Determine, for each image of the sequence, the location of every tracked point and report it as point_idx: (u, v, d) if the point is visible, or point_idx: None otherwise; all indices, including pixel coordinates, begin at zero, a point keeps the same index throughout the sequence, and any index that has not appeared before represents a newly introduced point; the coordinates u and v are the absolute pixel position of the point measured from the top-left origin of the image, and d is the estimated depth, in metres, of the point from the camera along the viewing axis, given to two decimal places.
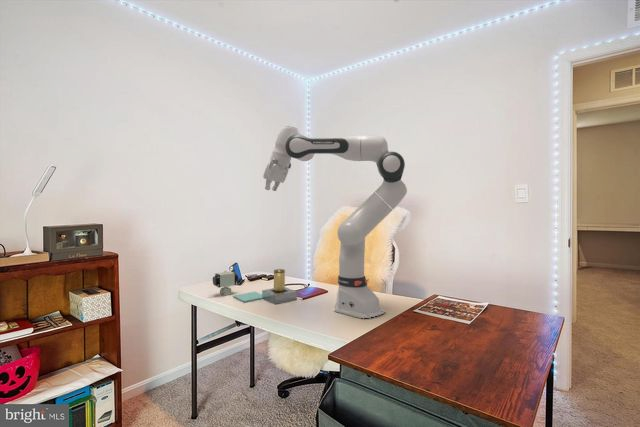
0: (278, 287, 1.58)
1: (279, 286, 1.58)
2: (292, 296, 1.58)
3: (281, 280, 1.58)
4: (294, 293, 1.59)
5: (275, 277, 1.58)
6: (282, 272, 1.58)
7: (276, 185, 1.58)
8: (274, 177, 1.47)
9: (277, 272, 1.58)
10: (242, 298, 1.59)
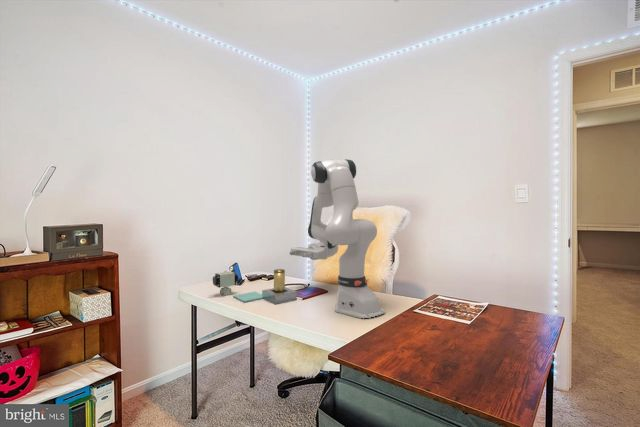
0: (278, 287, 1.58)
1: (279, 286, 1.58)
2: (292, 296, 1.58)
3: (281, 280, 1.58)
4: (294, 293, 1.59)
5: (275, 277, 1.58)
6: (282, 272, 1.58)
7: None
8: (298, 248, 1.77)
9: (277, 272, 1.58)
10: (242, 298, 1.59)
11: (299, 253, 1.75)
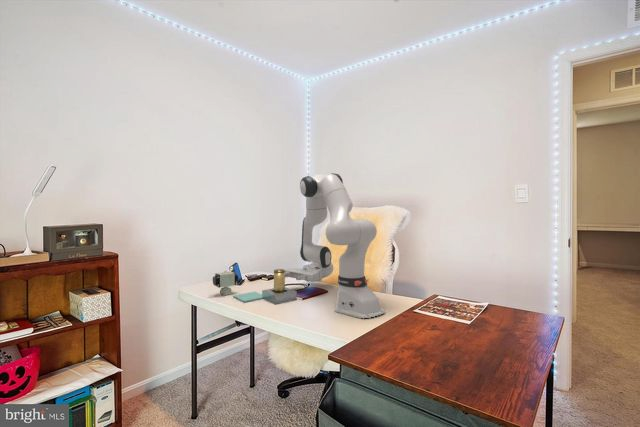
0: (278, 287, 1.58)
1: (279, 286, 1.58)
2: (292, 296, 1.58)
3: (281, 280, 1.58)
4: (294, 293, 1.59)
5: (275, 277, 1.58)
6: (282, 272, 1.58)
7: None
8: (292, 270, 1.74)
9: (277, 272, 1.58)
10: (242, 298, 1.59)
11: (293, 275, 1.72)
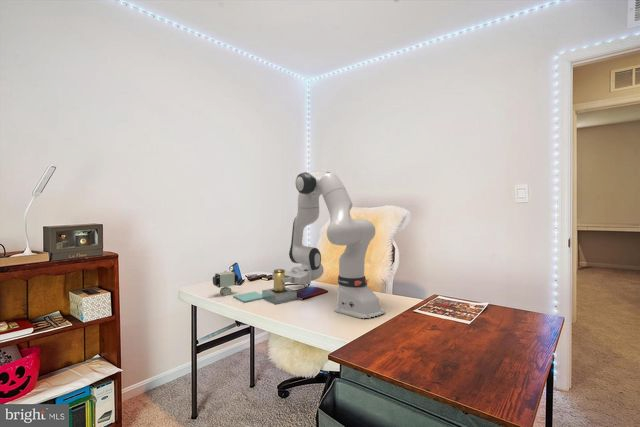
0: (278, 287, 1.58)
1: (279, 286, 1.58)
2: (292, 296, 1.58)
3: (281, 280, 1.58)
4: (294, 293, 1.59)
5: (275, 277, 1.58)
6: (282, 272, 1.58)
7: None
8: None
9: (277, 272, 1.58)
10: (242, 298, 1.59)
11: None
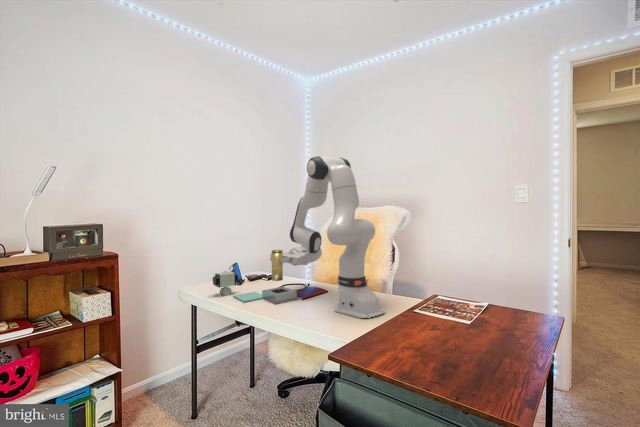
0: (276, 268, 1.58)
1: (276, 267, 1.58)
2: (292, 296, 1.58)
3: (279, 260, 1.58)
4: (294, 293, 1.59)
5: (273, 257, 1.58)
6: (280, 252, 1.58)
7: None
8: None
9: (275, 252, 1.58)
10: (242, 298, 1.59)
11: None
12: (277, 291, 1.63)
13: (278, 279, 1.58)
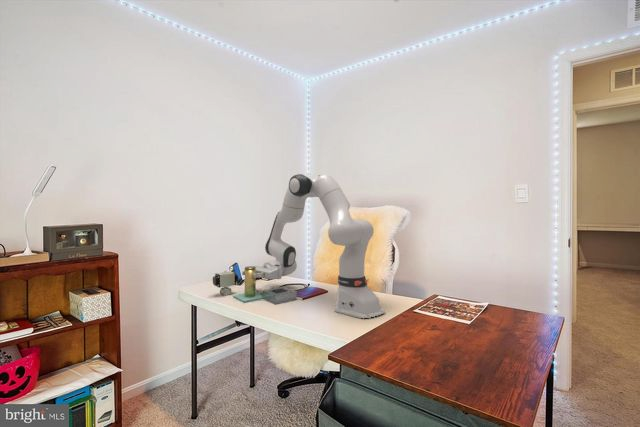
0: (248, 284, 1.60)
1: (249, 283, 1.60)
2: (292, 296, 1.58)
3: (251, 277, 1.60)
4: (294, 293, 1.59)
5: (246, 274, 1.61)
6: (253, 269, 1.61)
7: None
8: None
9: (248, 269, 1.60)
10: (242, 298, 1.59)
11: None
12: (277, 291, 1.63)
13: (250, 296, 1.60)
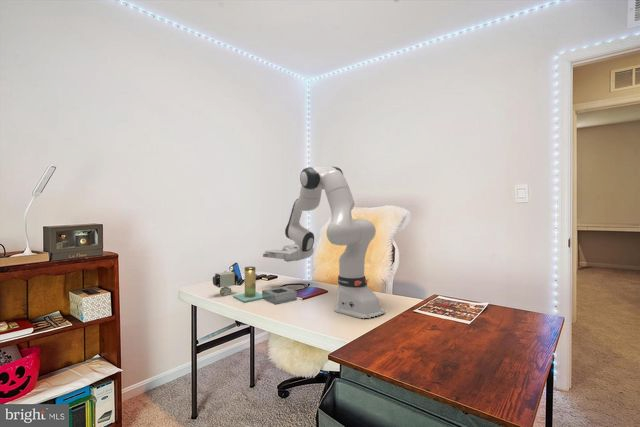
0: (248, 284, 1.60)
1: (249, 283, 1.60)
2: (292, 296, 1.58)
3: (251, 277, 1.60)
4: (294, 293, 1.59)
5: (245, 274, 1.61)
6: (252, 269, 1.61)
7: None
8: (271, 250, 1.80)
9: (247, 269, 1.60)
10: (242, 298, 1.59)
11: (273, 255, 1.77)
12: (277, 291, 1.63)
13: (250, 296, 1.60)
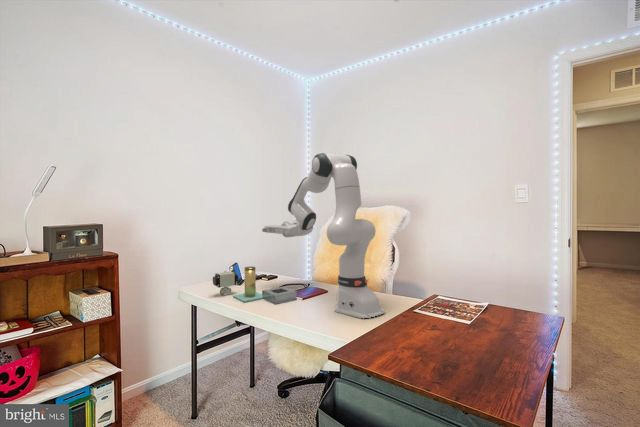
0: (248, 284, 1.60)
1: (249, 283, 1.60)
2: (292, 296, 1.58)
3: (251, 277, 1.60)
4: (294, 293, 1.59)
5: (245, 274, 1.61)
6: (252, 269, 1.61)
7: None
8: None
9: (247, 269, 1.60)
10: (242, 298, 1.59)
11: (272, 230, 1.77)
12: (277, 291, 1.63)
13: (250, 296, 1.60)
